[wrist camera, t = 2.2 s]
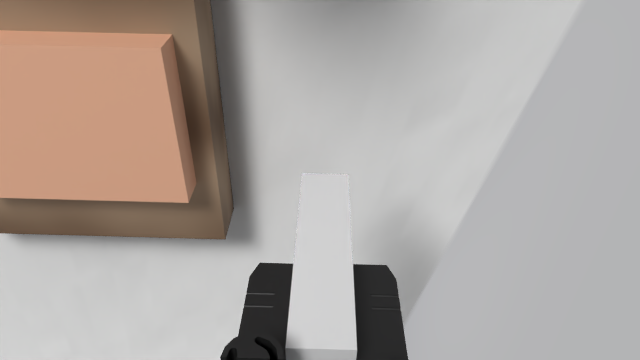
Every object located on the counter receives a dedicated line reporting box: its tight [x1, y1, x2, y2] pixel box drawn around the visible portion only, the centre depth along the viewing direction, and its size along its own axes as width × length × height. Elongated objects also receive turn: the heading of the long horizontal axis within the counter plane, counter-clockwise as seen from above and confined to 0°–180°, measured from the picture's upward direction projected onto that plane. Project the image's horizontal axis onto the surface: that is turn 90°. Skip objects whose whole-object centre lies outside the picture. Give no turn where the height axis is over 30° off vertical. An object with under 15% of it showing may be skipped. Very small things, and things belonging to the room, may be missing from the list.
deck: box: [0, 0, 234, 239], centre depth 21 cm, size 14×14×2 cm
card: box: [0, 30, 196, 203], centre depth 20 cm, size 7×10×2 cm
